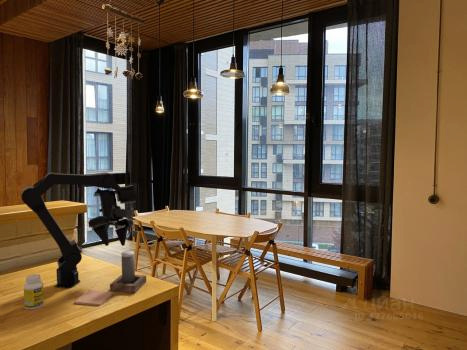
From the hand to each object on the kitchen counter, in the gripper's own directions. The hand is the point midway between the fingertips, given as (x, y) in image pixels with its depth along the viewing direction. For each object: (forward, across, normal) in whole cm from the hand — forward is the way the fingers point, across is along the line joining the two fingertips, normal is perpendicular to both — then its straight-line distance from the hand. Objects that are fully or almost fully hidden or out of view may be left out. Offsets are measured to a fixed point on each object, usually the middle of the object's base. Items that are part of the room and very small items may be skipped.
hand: (115, 245), depth 127 cm
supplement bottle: (+14, -19, +20) cm, 31 cm away
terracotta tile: (+17, -8, +5) cm, 19 cm away
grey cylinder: (+15, +3, 0) cm, 16 cm away
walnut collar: (+15, +3, 0) cm, 16 cm away
